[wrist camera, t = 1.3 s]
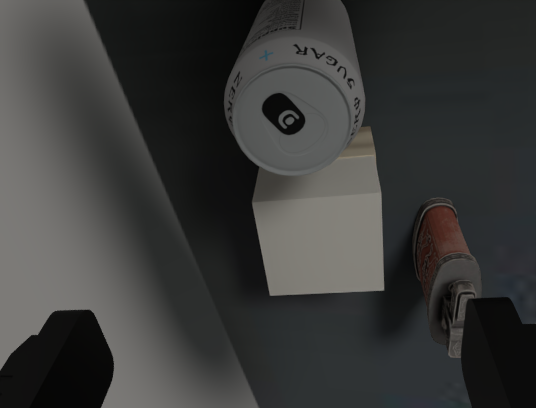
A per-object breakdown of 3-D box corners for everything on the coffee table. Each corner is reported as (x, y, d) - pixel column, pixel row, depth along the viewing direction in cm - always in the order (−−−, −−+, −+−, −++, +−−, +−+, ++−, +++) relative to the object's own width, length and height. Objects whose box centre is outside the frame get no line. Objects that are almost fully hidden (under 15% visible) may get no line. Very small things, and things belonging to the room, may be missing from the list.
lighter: (450, 277, 43) (482, 374, 34) (409, 277, 43) (431, 373, 35) (461, 196, 38) (500, 285, 30) (415, 198, 39) (441, 286, 30)
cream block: (259, 165, 33) (251, 202, 30) (374, 155, 32) (381, 192, 28) (275, 253, 37) (270, 295, 34) (377, 247, 36) (384, 290, 32)
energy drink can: (298, 91, 35) (286, 212, 22) (237, 25, 33) (186, 117, 20) (368, 32, 32) (399, 130, 20) (307, -44, 30) (298, 12, 18)
